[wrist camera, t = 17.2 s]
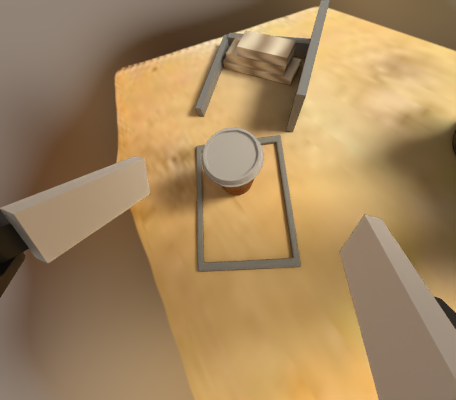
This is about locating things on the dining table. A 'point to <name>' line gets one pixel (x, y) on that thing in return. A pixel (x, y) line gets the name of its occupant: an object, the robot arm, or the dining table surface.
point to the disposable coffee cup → (233, 159)
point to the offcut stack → (263, 57)
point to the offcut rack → (302, 48)
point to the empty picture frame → (249, 263)
